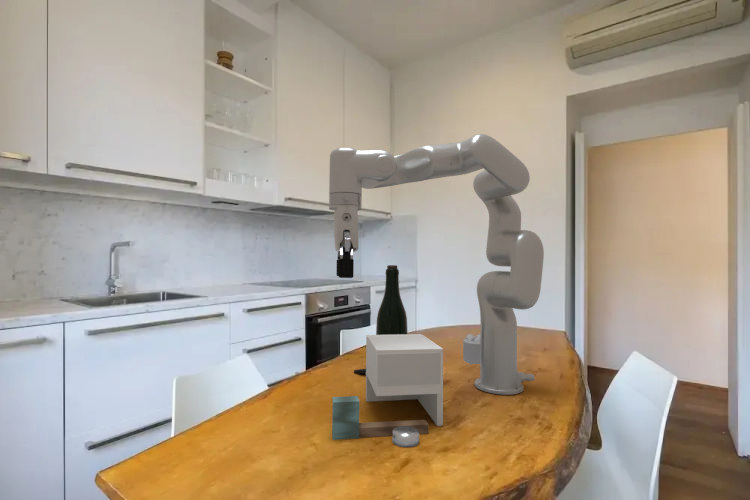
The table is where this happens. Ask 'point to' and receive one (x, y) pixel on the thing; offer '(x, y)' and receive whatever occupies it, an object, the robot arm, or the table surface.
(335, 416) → the mallet
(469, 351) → the lumpy-topped squat cylinder
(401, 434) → the silver metal dome
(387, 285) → the dark green wine bottle
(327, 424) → the table surface
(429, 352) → the cabinet
